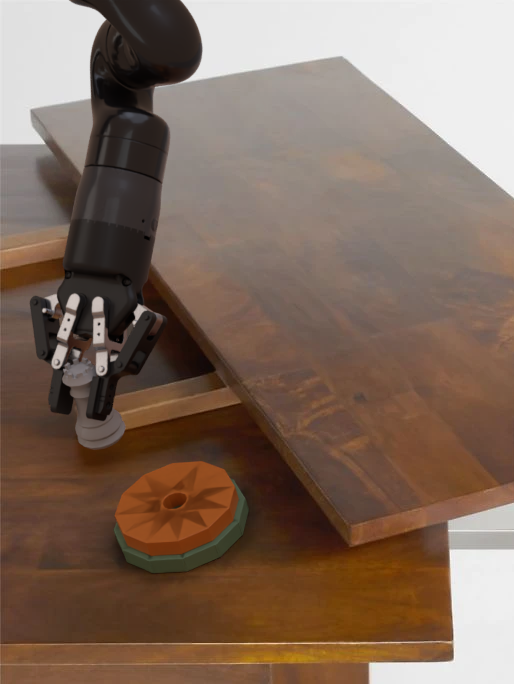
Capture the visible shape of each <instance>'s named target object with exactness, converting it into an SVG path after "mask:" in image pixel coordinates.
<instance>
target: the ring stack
mask: <svg viewBox="0 0 514 684" xmlns="http://www.w3.org/2000/svg"><path fill="white" fill-rule="evenodd" d="M249 512H250V509H249V505H248V501H247V499H246V497H245V496H244V494H243V492H242V491H241V489H240V487H239V486H238V484H237V483H236V480H235V479H234V478H231V477H230V476H229V474H228V472H227V471H226V469H225V468H221V467H219V466H217V465H215V464H211V463H209V462H206V461H202V460H198V461H197V460H196V461H185V462H183V461H182V462H172V463H169V464H167V465H164V466H162V467H160V468H157V469H154V470H153V471H150V472H147V473H145V474H143V475H141V477H140V478H138V479H137V480H136V481H135V482H134V483H133V484H132V485H131V486H129V487H128V488H127V489H126V490H125V491H123V493H121V496H120V499H119V502H118V503H117V508H116V510H115V513H114V518H115V521H116V522H115V524H114V528H112V529H113V530H112V531H113V533H114V536H115V538H116V541H117V543H118V545H119V547H120V550H121V551H122V553H123V556H124V558H125V562H127V563H128V564H130V565H133V566H135V567H137V568H139V569H142V570H144V571H147V572H149V573H151V574H163V573H164V574H165V573H166V574H167V573H182V572H190V571H192V570H194V569H196V568H199V567H200V566H203V565H205V564H207V563H210V562H213V561H214V560H218V559H220V558H221V557H222V556H223V555H224V554H225V553H226V552H227V551H228V550H229V549H230V548H231V547H232V546H233V545H234V544H235V543H236V542H237V541H238V540H239V539H240V538H241V537H242V536H244V531H245V528H246V523H247V519H248V515H249Z"/></svg>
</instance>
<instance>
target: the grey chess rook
mask: <svg viewBox="0 0 514 684" xmlns="http://www.w3.org/2000/svg"><path fill="white" fill-rule="evenodd" d="M73 363H74V364H73V365H70V363H67V364H66V365H65V369H63V371H64V375H63V378H62V380H63V383H64V384H66V385H67V386H69V387H71V390H70V395H71V396H73V397H74V401H75V404H76V410H77V417H76V423H75V425H74V430H75V433H76V436H77V441H78V443H79V444H80V445H81V446H83V447H84V448H86V449H89V450H94V451H96V450H104V449H108V448H110V447H112V446H114V445H115V444H117V443H118V442H119V441H120V440H121V439H122V438H123V436H124V434H125V431H126V428H127V426H126V423H125V421H124V420H123V417H122V415H121V414H122V413H120V412H119V411H118V409H117V410H116V408H114V407H113V409H112V411H111V413H110V415H107V418H106V420H105V421H99V420H93V419H88V418H87V417H86V410H87V404H88V399H89V394H90V388H91V383H92V378H93V376H95V377H97V373H96V364H93V363H92V361H91V360H89V359H88V357H82V360H81V362H79V360H78V358H76V359H73Z"/></svg>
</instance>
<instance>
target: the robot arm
mask: <svg viewBox="0 0 514 684" xmlns="http://www.w3.org/2000/svg"><path fill="white" fill-rule="evenodd" d="M68 1H69V2H71V3H72V4H74V5H76V6H81V7H86V8H89V9H92V10H95V11H96V12H98V13H99V14H100V15H101V16H102V17H103V18H104V19H105V20H104V21H103V22H102V24H101V25H100V26H99V28H98V30H97V32H96V34H95V36H94V39H93V42H92V46H91V51H90V55H89V80H90V81H89V84H90V86H89V87H90V106H91V108H90V109H91V115H92V117H91V118H92V127H91V130H90V133H89V138H88V143H87V150H86V155H85V160H84V164H83V165H84V168H83V169H82V174H81V176H80V180H79V183H78V185H77V189H76V194H75V197H74V202H73V207H72V211H71V212H72V213H71V218H70V223H69V228H68V234H67V239H66V243H65V249H64V253H63V259H62V267H63V271H64V278H63V280H62V282H61V284H60V285H59V286H58V288H57V291H56V293H54V294H51V295H47V296H45V297H42V296H40V295H33V296H32V297H31V298H30V299H29V308H30V316H31V323H32V329H33V330H32V332H33V338H34V345H35V352H36V357H37V358H38V360H41V361H44V362H45V363H47V364H48V365H50V366H51V368H52V376H51V382H50V386H49V387H50V388H49V392H48V396H47V401H48V405H49V409H50V412H51V413H54V414H60V415H65V416H69V415H71V413H72V411H73V407H74V406H73V405H74V401H75V399H74V397H73V396H71V395H70V390H71V387H69V386H67V385H66V384H64V383H63V380H62V378H63V375H64V371H63V369H65V365H66V364H67V363H70V365H73V364H74V363H73V359H76V358H78V360H79V362H82V358H84V355H85V353H86V351H88V350H89V349H90V348H91V346H92V347H93V349H94V350H95V366H96V373H97V377H95V376H93V378H92V383H91V388H90V394H89V399H88V404H87V410H86V417H87V418H88V419H93V420H99V421H105V420H106V418H107V415H110V413H111V411H112V409H113V408H114V403H115V397H116V392H117V387H118V383H119V381H120V380H121V379H122V378H124V377H128V376H138V375H139V374H140V373H141V371H142V369H143V368H144V366H145V364H146V363H147V360H149V359H148V358H149V357H150V355H151V353H152V352H153V350H154V348H155V346H156V344H157V343H158V341H159V339H160V337H161V335H162V334H163V332H164V331H165V328H166V327H167V325H168V317H166V316H165V315H163V314H161V313H158V312H155V311H153V310H152V309H150V308H148V307H147V306H146V305H145V298H144V295H143V289H144V286H145V285H146V284H147V282H148V279H149V274H150V268H151V264H152V258H153V252H154V247H155V242H156V237H157V231H158V226H159V221H160V214H161V209H162V208H161V207H162V191H163V183H164V178H165V172H166V167H167V162H168V157H169V152H170V146H171V129H170V126H169V124H168V122H167V121H166V120H165V119H164V118H162V117H161V116H159V115H158V114H156V113H154V93H155V89H156V88H159V87H166V86H172V85H177V84H180V83H183V82H185V81H187V80H189V79H190V78H192V76H193V75H194V74H195V73H197V71H198V69H199V67H200V66H201V62H202V59H203V50H204V49H203V48H204V47H203V41H202V35H201V32H200V29H199V27H198V24H197V21H196V20H195V17H194V16H193V14H192V13H191V12H190V10H189V9H188V7H187V6H186V4H185V3H184V2H183V1H182V0H68ZM62 317H63V319H62V321H61V323H60V319H61V318H62ZM131 324H132V326H133V328H132V330H131V332H130V333H129V336H128V328H129V327H130V326H131ZM74 335H76V336H74Z"/></svg>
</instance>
